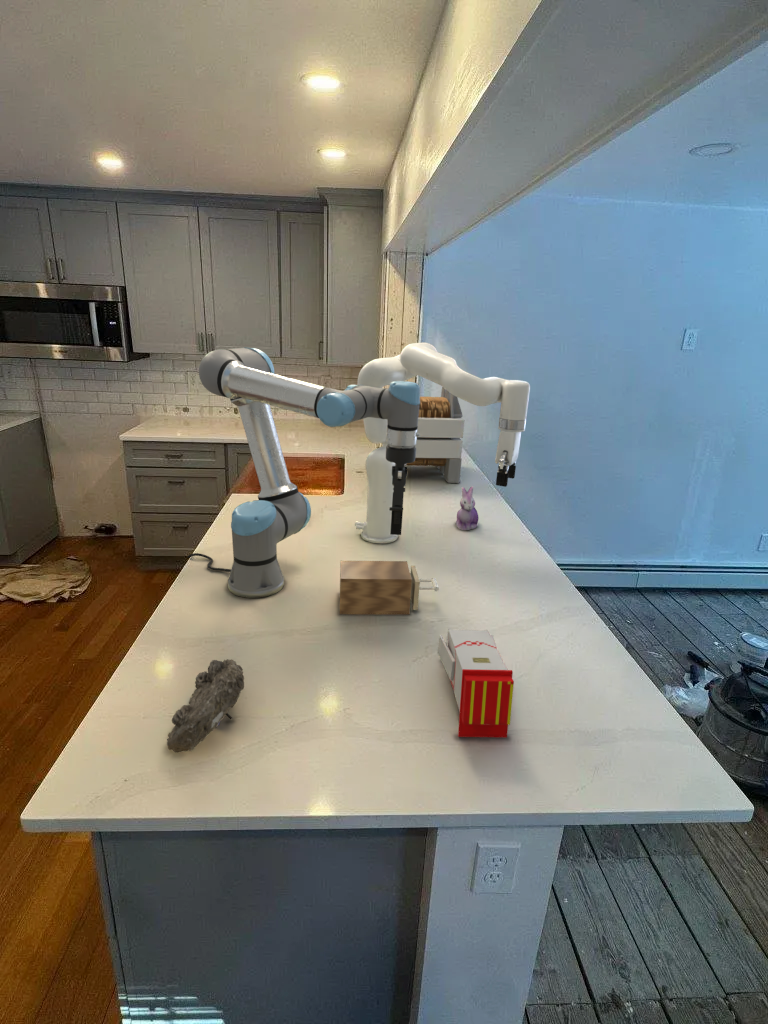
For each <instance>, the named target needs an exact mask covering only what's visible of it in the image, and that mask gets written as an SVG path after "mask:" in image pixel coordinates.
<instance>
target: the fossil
mask: <svg viewBox="0 0 768 1024" xmlns="http://www.w3.org/2000/svg"><path fill="white" fill-rule="evenodd" d="M243 670H244V669H243V667H242V665H240V664H237V662H236V661H235V660H234V659H232V658H231V659H227V658H226V659H224V660H223V661H222V660H217V659H212V660H211V661H210V663H209V665H208V666H207V671H201V672H199V673H198V674H197V675H196V676H195V680H194V684H195V685H194V687H195V689H194V690H193V693H192V694H191V697H190V698H189V700H188V704H184V705H182V706H181V707H180V709H177V710H176V711H175V713H174V715H173V716H172V718H171V723H172V724H173V727H172V730H171V731H170V732H168V734H167V738H166V741H167V742H166V745H167V749H168V750H169V751H173V752H174V753H176V754H178V753H182V752H188V751H189V752H192V751H193V750H195V748H196V747H197V746H199V744H200V743H201V742H203V741H204V740H205V739H206V738H207V737H208V736H209V735H210V734H211V733H212V732H214V730H215V729H217V727H218V726H219V724H220V722H221V721H222V720H223V719H224V718H225V716H226V717H227V719H229V720H233V717H232V715H230V714H229V710H230V709H231V708H234V706H235V704H236V703H237V702H238V699H239V697H240V695H241V693H242V691H243V690H245V689H244V688H245V675H244V671H243Z"/></svg>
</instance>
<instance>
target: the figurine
mask: <svg viewBox="0 0 768 1024" xmlns="http://www.w3.org/2000/svg"><path fill="white" fill-rule="evenodd" d="M473 494H474V486H471V487H469V489H468V490H466V488H465V487H464V486H461V499H460V501H459V506H460V507H461V508H460V509H458V510H457V513H456V521H455V526H456V527H457V529H459V530H463V531H469V530H474V529H476V528H477V527H478V524H479V520H480V519H479V513H478V510H477V509H476V507H475V506H476V501H475V498H474V496H473Z"/></svg>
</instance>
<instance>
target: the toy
mask: <svg viewBox="0 0 768 1024" xmlns="http://www.w3.org/2000/svg"><path fill="white" fill-rule="evenodd" d="M446 640H447V643H446V641H445V639H444V636H443V635H442V634H439V637H438V646H437V656H438V657H439V659H440V661H441V663H442V666H443V668H444V670H445V672H446V674H447V677H448V679H449V681H450V684H451V687H452V690H453V693H454V697H455V701H456V705H457V708H458V711H459V714H458V715H459V716H458V730H457V731H458V732H457V737H458V738H508V731H509V726H510V725H511V717H512V707H513V697H514V696H513V695H514V684H515V680H514V679H513V673H514V671H513V670H512V669H508V667H507V665H506V662H505V661H504V659H503V658H502V655H501V653H500V651H499V649H498V647H497V643H496V639H495V637H494V635H493V634H491V632H490V631H489V629H467V628H466V629H465V628H463V629H461V628H460V629H459V628H448V630H447V639H446Z"/></svg>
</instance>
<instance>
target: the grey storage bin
mask: <svg viewBox="0 0 768 1024" xmlns="http://www.w3.org/2000/svg"><path fill="white" fill-rule="evenodd" d="M440 393H441V394H440V396H420V405H419V416H418V429H417V433H419V434H420V436H419V437H416V438H417V440H416V445H415V447H416V457H415V461H414V462H412V463H407V464H406V465H405V466H406V467H408V466H411V467H412V466H413V467H415V466H416V467H417V466H418V467H436V468H437V470H438V469H439V473H440V474H441V475H443V478H444V479H445V481H446V482H447V483H449V484H455V483H456V484H459V483H461V472H462V461H463V460H462V453H463V442H464V441H463V440H462V439H463V438H464V431H465V430H464V429H465V419H464V418H463V411H462V408H461V405H460V402H459V398H458V397H456V396H454V395H453V394H451V393H450V392H448V391H447V390H446V389H444V388H443V387H442V386H441V392H440Z"/></svg>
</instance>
